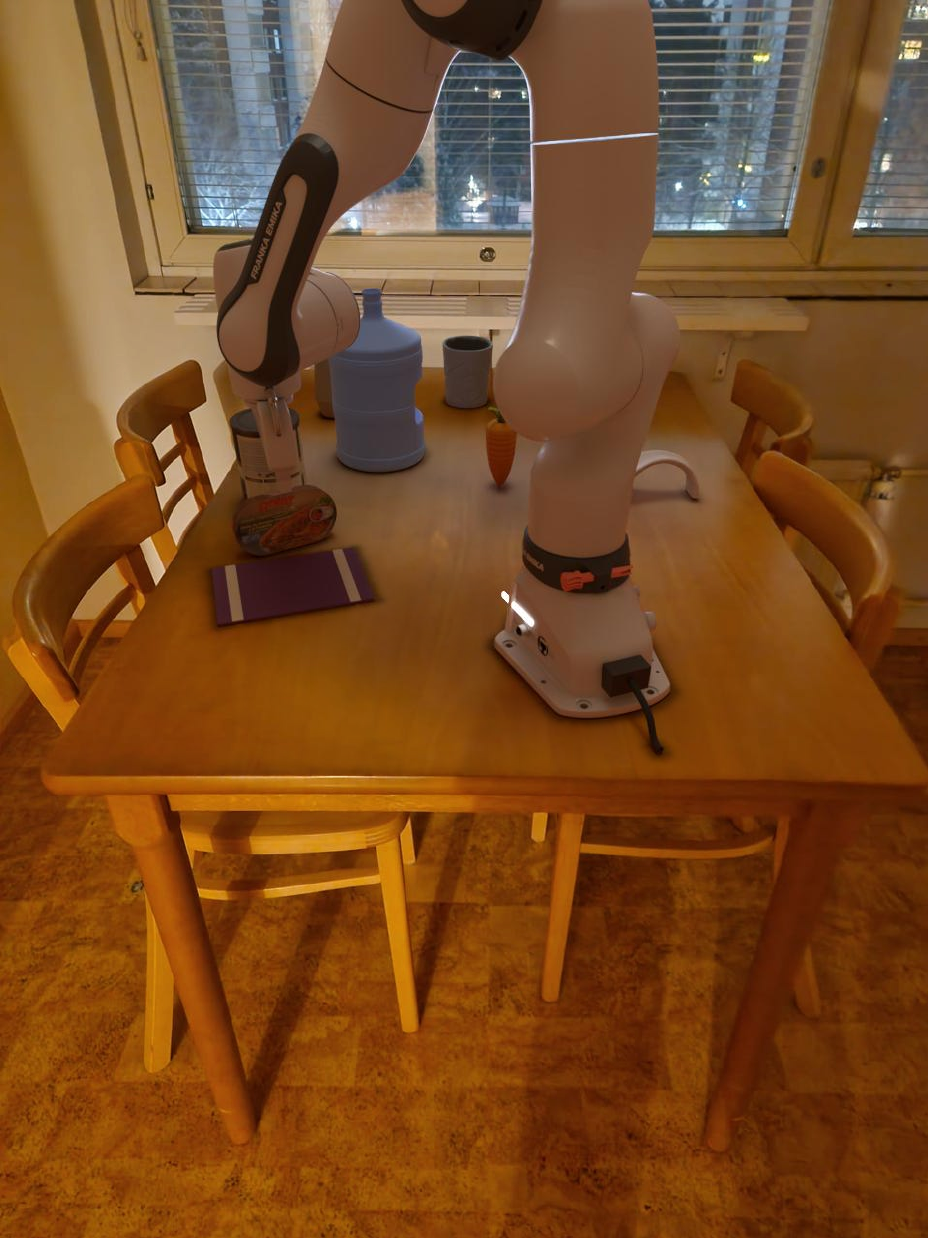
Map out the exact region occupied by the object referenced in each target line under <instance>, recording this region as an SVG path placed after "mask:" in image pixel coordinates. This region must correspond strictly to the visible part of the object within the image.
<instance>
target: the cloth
mask: <svg viewBox="0 0 928 1238" xmlns="http://www.w3.org/2000/svg"><path fill="white" fill-rule="evenodd" d="M211 577H212V587H213V596H214V603H215V604H214V605H215V613H216V623H217V627H218V628H219V627H224V626H225V627H226V626H231V625H237V624H242V623H248V622H255V621H260V620H266V619H271V618H278V617H285V616H290V615H297V614H302V613H308V612H315V611H320V610H327V609H332V608H339V607H346V606H351V605H358V604H363V603H364V604H365V603H369V602H375V601H376V597H375V595H374V593H373V590H372V588H371V586H370V585H371V584H370V583H369V580H368V578H367V575H366V573H365V570H364V568H363V565H362V563H361V561H360V557H359V556H358V553H357V550H356V548H355V547H354V546H353V547H347V548H336V549H332V550H327V551H319V552H314V553H306V554H299V555H294V556H293V555H292V556H287V557H281V558H273V559H267V560H259V561H253V562H246V563H239V564H229V565H224V566H219V567H213V568H211Z"/></svg>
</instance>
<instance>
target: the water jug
mask: <svg viewBox="0 0 928 1238" xmlns="http://www.w3.org/2000/svg"><path fill="white" fill-rule="evenodd" d="M382 293H383V292H382V290H381V289H380V288H365V289H361V295H362V302H361V304H362V310H363V313H362V316H361V317H360V329H359V333H358V336H357V338H356V340H355V342H354V343H353V344H352V345H351V346H350V347H348V348H346V349H345V350H344V351H342V352H340V353H338V354H336V355H334V356H332V357H329V358H328V362H329V366H330V374H331V385H332V395H333V397H332V405H333V412H334V417H335V418H334V427H335V434H336V436H335V437H336V444H335V445H336V455H337V457H338V460H339V461H340V462H341V463H342V464H344V465H345V466H346V467H348V468H351V469H354V470H356V471H361V472H367V473H390V472H396V471H400V470H405V469H407V468H410V467H412V466H414V465H416V464H417V463H419V462H420V461H421V460H422V459H423V457H424V456H425V453H426V440H425V424H424V422H425V421H424V415H423V413H422V412H421V410H420V409H418V407H416V395H415V394H416V393H415V390H416V387H417V384H418V383H419V382H420V381H421V380H422V378H423V359H424V357H423V345H422V337H421V335H420V333H419V332H418V331H417V330H415V329H413V328H411V327H409V326H406V325H404V324H402V323H399V322H397V321H394V320H392V319H390V318H388V317H385V315H384V314H383V300H382Z"/></svg>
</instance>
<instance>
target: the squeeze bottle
mask: <svg viewBox="0 0 928 1238" xmlns="http://www.w3.org/2000/svg"><path fill="white" fill-rule="evenodd" d="M313 366H314V368H313V369H314V400H315V401H316V404H317V406H318V408H319V410H320V412H321V415H322V416H323V417H326V418H331V419H335V417H334V412H333V405H332V397H333V395H332V385H331V374H330V366H329V362H328V358H327V359H325V360H324V361H322V362H320V363H317V364H315V365H313Z"/></svg>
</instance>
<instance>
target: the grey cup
mask: <svg viewBox="0 0 928 1238" xmlns="http://www.w3.org/2000/svg"><path fill="white" fill-rule="evenodd" d="M441 344H442V345H441V346H442V357H443V374H444V390H445V401H446V404H447V405H449V406H451V407H453V408H459V409H476V408H480V407H482V406H484V405H486V404H487V402H488V397H489V396H488V392H489V391H488V390H489V383H490V373H491V363H492V357H493V348H494V343H493V342H492V340H490V339H489V338H486V337H483V336H478V335H455V336H451V337H448V338H445V339H444V340H443V341H442V343H441Z"/></svg>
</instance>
